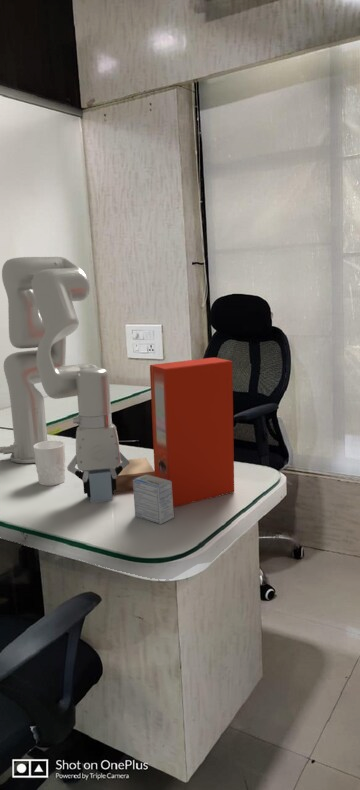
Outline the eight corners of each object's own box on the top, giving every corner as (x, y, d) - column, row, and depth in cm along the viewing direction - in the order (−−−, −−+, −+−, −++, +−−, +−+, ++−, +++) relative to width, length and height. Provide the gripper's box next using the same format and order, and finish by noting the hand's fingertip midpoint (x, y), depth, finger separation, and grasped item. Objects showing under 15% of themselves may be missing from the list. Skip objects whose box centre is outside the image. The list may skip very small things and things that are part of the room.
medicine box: (174, 518, 133) (172, 480, 131) (160, 525, 129) (158, 486, 128) (148, 510, 138) (146, 473, 136) (134, 516, 135) (132, 479, 133)
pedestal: (107, 492, 150) (106, 476, 149) (102, 477, 161) (101, 462, 161) (155, 486, 153) (154, 471, 152) (146, 472, 164) (146, 457, 163)
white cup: (33, 480, 161) (30, 443, 159) (62, 474, 165) (59, 439, 163) (41, 488, 154) (37, 450, 152) (71, 483, 158) (68, 445, 156)
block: (91, 502, 144) (89, 474, 142) (89, 495, 148) (87, 467, 147) (112, 500, 145) (110, 471, 143) (109, 492, 150) (108, 465, 148)
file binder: (235, 492, 146) (232, 360, 140) (171, 508, 138) (165, 368, 132) (217, 483, 153) (213, 357, 147) (155, 497, 145) (149, 364, 139)
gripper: (59, 428, 137) (65, 504, 141) (134, 421, 141) (138, 495, 145) (57, 420, 145) (63, 493, 148) (129, 414, 148) (133, 485, 152)
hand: (100, 493), depth 146 cm, fingers closed on block, 5 cm apart
